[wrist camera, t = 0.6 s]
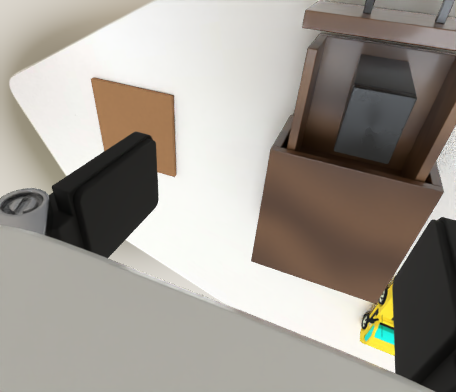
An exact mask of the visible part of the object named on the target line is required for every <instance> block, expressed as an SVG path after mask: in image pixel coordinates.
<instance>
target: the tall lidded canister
mask: <svg viewBox="0 0 456 392" xmlns="http://www.w3.org/2000/svg"><path fill="white" fill-rule="evenodd" d="M416 100H417V96H416V91H415V87H414V83H413V78H412V74H411V70H410V66H409V62H406V61H400V60H394V59H388V58H382V57H375V56H369V55H363V54H361V55H360V58H359V62H358V65H357V68H356V72H355V75H354V78H353V81H352V85H351V88H350V91H349V94H348V98H347V101H346V104H345V107H344V111H343V115H342V119H341V123H340V127H339V130H338V134H337V138H336V142H335V146H334V150H333V151H335V152H339V153H343V154H347V155H351V156H355V157H360V158H364V159H368V160H372V161H376V162H381V163H385V164H388V163H389V161H390V159H391V157H392V155H393V152H394V150H395V148H396V146H397V143H398V141H399V139H400V137H401V134H402V132H403V130H404V128H405V125H406V123H407V121H408V118H409V116H410V114H411V112H412V109H413V107H414V105H415V103H416Z"/></svg>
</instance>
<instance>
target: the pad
mask: <svg viewBox="0 0 456 392" xmlns="http://www.w3.org/2000/svg"><path fill="white" fill-rule="evenodd" d="M91 82H92V87H93V93H94V98H95V103H96V109H97V114H98V119H99V125H100V130H101V135H102V141H103V146H104V151H106V150H107V149H109V148H110V147H112V146H113V145H115V144H116V143H118V142H119V141H121V140H122V139H124V138H125V137H127V136H129V135H130V134H132V133H133V132H135V131H136V132H141V133H144V134H148V135H150V136H152V139H153V140H154V141H155V142H156V153H157V172H159V173H163V174H166V175H170V176H173V177H175V176H176V155H175V124H174V96H173V95H169V94H165V93H160V92H156V91H151V90H147V89H142V88H138V87H133V86H129V85H125V84H120V83H116V82H111V81H107V80H102V79H98V78H92V79H91Z"/></svg>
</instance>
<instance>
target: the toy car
mask: <svg viewBox="0 0 456 392" xmlns="http://www.w3.org/2000/svg"><path fill="white" fill-rule="evenodd" d="M392 286H393V284H392V285H391V286H390V288H389V289H387V288H386V289H385V290H384V292H383V294H382V295H381V297H380V298H379V300H378V301H379V303H378V305H377V306H376V307H375V309H374V310H373V312H372V313H371V314H370V315H369V314H365V315H364V317H363V320H362V329H361V332H360V341H361V342H362V343H364V344H366V345H369V346H371V347H374V348H376V349H379V350H381V351H384V352H386V353H389V354H391V355H394V356H395V348H394V321H393V294H392Z"/></svg>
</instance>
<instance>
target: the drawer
mask: <svg viewBox="0 0 456 392" xmlns="http://www.w3.org/2000/svg"><path fill="white" fill-rule="evenodd" d="M454 1H455V0H443V2H442V5H441V7H440V10H439V12H438V14H437V15H431V14H423V13H415V12H407V11H399V10H392V9H384V8H376V7H373V5H374V2H375V0H366V3H365V6H360V5H353V4H345V3H337V2H329V1H322V0H320V1H318V2H317V3H315V4H314V5H312V6H311V7H309V8H308V9H307V10H306V11H305V15H304V20H303V25H302V28H306V29H313V30H320V31H326V32H333V33H339V34H346V35H353V36H359V37H366V38H373V39H379V40H386V41H392V42H399V43H406V44H412V45H419V46H426V47H432V48H439V49H445V50H452V51H456V18H454V17H448V15H449V13H450V10H451V8H452V6H453V3H454ZM361 54H363V55H369V56H375V57H382V58H388V59H394V60H400V61H406V62H409V66H410V70H411V74H412V78H413V83H414V87H415V91H416V96H417V100H416V103H415V105H414V107H413V109H412V112H411V114H410V116H409V118H408V121H407V123H406V125H405V128H404V130H403V132H402V134H401V137H400V139H399V141H398V143H397V146H396V148H395V150H394V152H393V155H392V157H391V159H390V161H389V163H388V164H385V163H381V162H376V161H372V160H368V159H364V158H360V157H355V156H351V155H347V154H343V153H339V152H335V151H333V150H334V146H335V142H336V138H337V134H338V130H339V127H340V123H341V119H342V115H343V111H344V107H345V104H346V101H347V98H348V94H349V91H350V88H351V85H352V81H353V78H354V75H355V72H356V68H357V65H358V62H359V58H360V55H361ZM455 125H456V54H453V53H446V52H440V51H433V50H426V49H420V48H413V47H407V46H400V45H394V44H387V43H381V42H374V41H368V40H361V39H355V38H348V37H342V36H335V35H328V34H322V33H320V34H319V35H318V36H317V38H316V39H315V40H314V41H313V43H312V44H311V45H310V46H309V47H308V49H307V54H306V59H305V64H304V68H303V73H302V78H301V83H300V88H299V92H298V97H297V102H296V107H295V111H294V116H293V121H292V126H291V131H290V135H289V140H288V145H287V149H289V150H293V151H297V152H302V153H306V154H310V155H314V156H318V157H322V158H326V159H330V160H334V161H338V162H342V163H346V164H350V165H354V166H358V167H363V168H367V169H371V170H375V171H379V172H383V173H387V174H391V175H395V176H399V177H403V178H407V179H411V180H415V181H419V182H423V183H424V182H425V180H426V178H427V177H428V175H429V173H430V171H431V169H432V167H433V166H434V164H435V162H436V160H437V158H438V156H439V155H440V153H441V151H442V149H443V147H444V145H445V144H446V142H447V140H448V138H449V136H450V134H451V133H452V131H453V129H454V127H455Z"/></svg>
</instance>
